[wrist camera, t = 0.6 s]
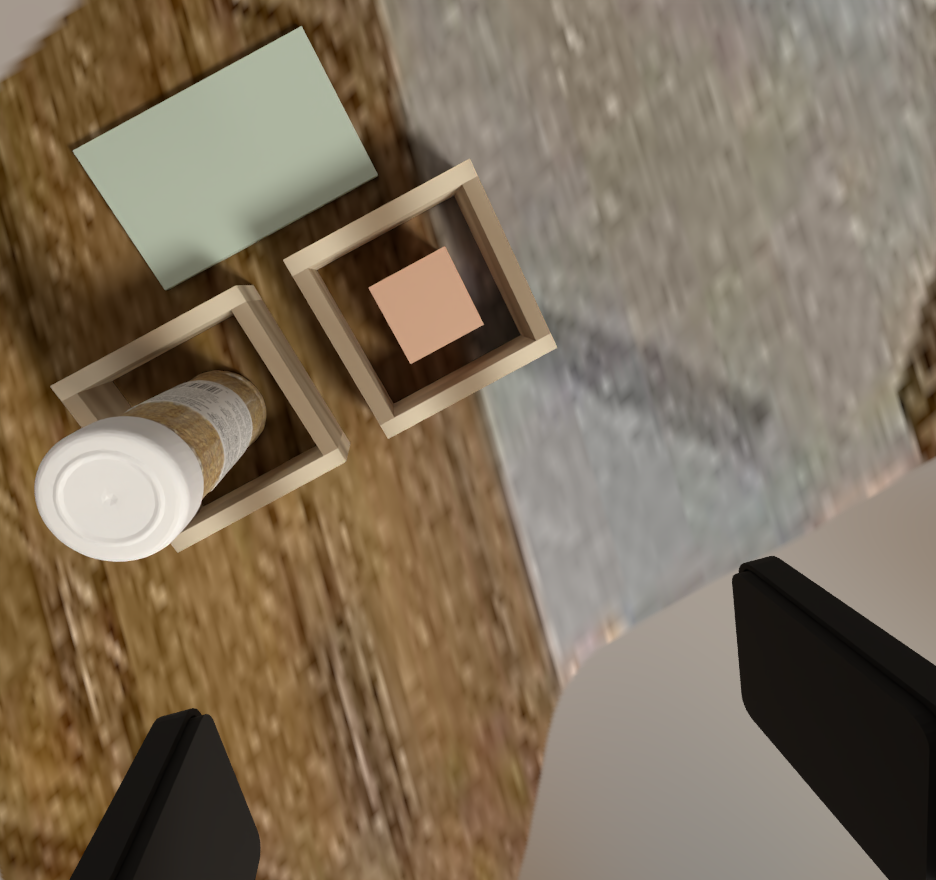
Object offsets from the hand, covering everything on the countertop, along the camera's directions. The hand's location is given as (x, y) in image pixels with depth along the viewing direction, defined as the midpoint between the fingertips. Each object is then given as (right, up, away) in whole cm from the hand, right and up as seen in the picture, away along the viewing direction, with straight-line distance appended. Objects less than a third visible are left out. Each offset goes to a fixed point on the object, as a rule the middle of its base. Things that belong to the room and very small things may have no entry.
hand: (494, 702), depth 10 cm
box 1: (-13, +6, +21) cm, 25 cm away
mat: (-12, +18, +18) cm, 28 cm away
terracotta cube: (-3, +12, +21) cm, 24 cm away
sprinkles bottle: (-13, +6, +21) cm, 26 cm away
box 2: (-3, +12, +21) cm, 24 cm away
